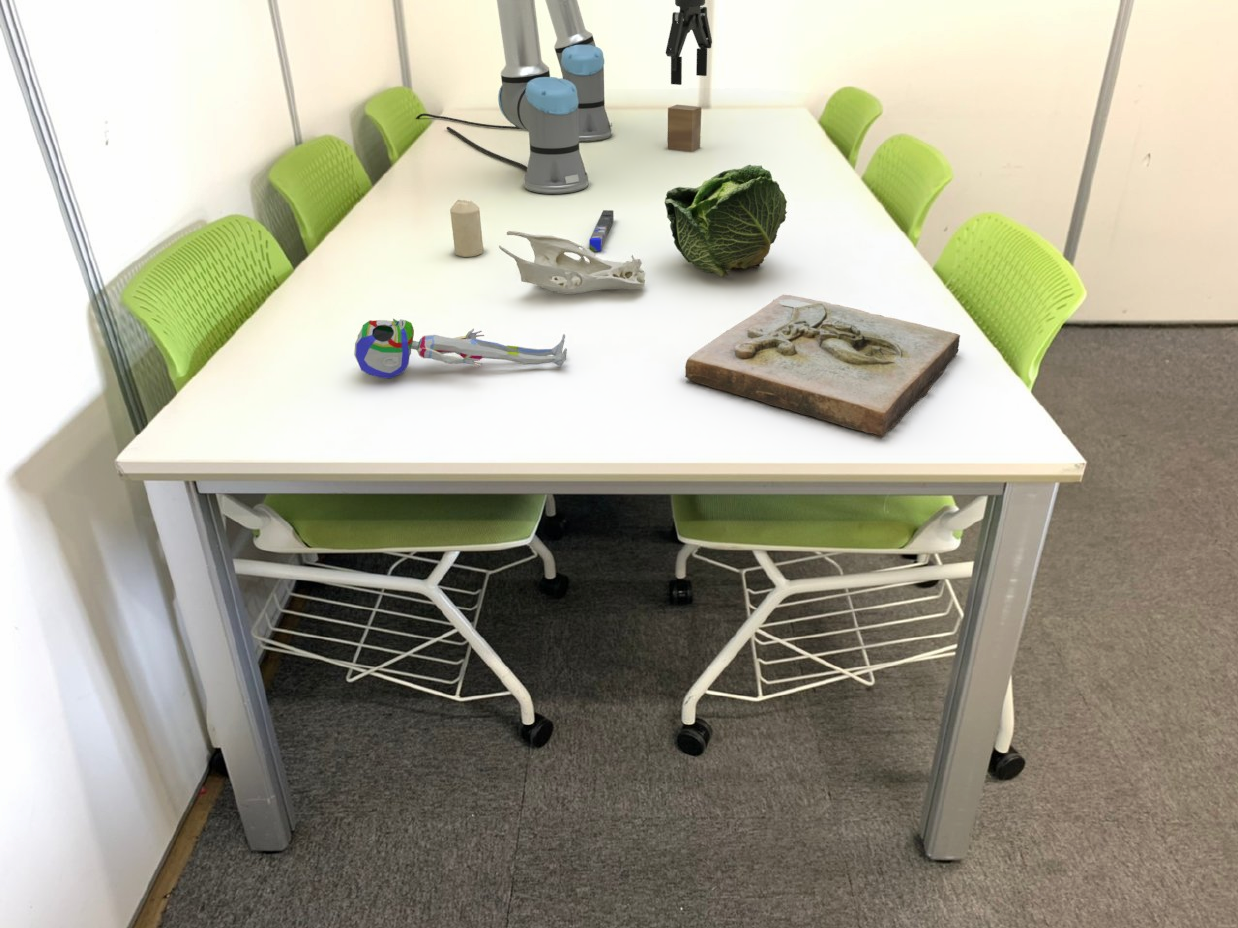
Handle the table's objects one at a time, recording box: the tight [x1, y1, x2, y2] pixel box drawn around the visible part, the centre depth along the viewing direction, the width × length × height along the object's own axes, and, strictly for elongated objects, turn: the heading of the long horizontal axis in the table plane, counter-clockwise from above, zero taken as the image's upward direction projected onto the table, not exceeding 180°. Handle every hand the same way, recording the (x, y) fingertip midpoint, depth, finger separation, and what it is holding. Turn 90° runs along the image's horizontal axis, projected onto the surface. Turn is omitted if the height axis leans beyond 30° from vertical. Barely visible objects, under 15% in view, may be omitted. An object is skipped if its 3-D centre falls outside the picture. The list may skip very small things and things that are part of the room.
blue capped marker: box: [588, 209, 615, 252], centre depth 182 cm, size 2×2×20 cm
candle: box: [449, 199, 484, 258], centre depth 172 cm, size 6×6×10 cm
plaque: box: [684, 294, 961, 438], centre depth 129 cm, size 30×7×30 cm
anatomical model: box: [498, 230, 646, 295], centre depth 156 cm, size 15×9×25 cm
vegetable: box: [664, 164, 788, 278], centre depth 161 cm, size 20×19×20 cm
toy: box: [353, 318, 568, 379], centre depth 130 cm, size 10×8×30 cm
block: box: [666, 104, 702, 153], centre depth 243 cm, size 5×7×11 cm
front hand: (689, 80), depth 233 cm, fingers open, 13 cm apart
